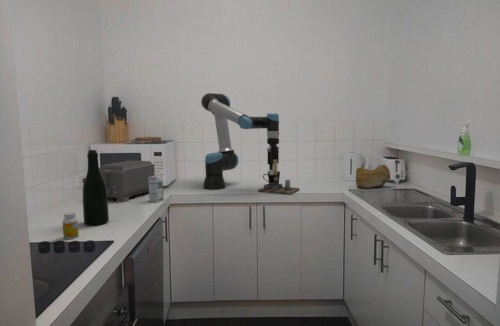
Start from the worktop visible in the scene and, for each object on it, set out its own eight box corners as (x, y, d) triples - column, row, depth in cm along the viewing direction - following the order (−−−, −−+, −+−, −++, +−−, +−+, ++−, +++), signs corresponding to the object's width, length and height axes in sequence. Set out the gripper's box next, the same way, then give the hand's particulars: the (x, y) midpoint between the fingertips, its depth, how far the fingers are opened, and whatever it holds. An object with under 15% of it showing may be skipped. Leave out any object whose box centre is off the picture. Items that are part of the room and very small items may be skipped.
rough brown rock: (381, 185, 259) (380, 164, 258) (393, 187, 242) (392, 164, 242) (349, 187, 256) (348, 165, 256) (359, 189, 240) (358, 166, 239)
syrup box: (157, 202, 206) (157, 176, 204) (149, 201, 208) (148, 176, 206) (163, 200, 211) (162, 175, 210) (155, 199, 213) (154, 175, 212)
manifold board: (258, 192, 234) (257, 180, 233) (268, 187, 248) (268, 176, 247) (290, 194, 224) (290, 182, 223) (299, 190, 238) (299, 178, 237)
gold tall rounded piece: (267, 175, 235) (267, 159, 234) (271, 174, 240) (271, 159, 239) (275, 175, 233) (275, 160, 232) (278, 174, 238) (278, 159, 237)
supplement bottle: (60, 238, 144) (58, 214, 143) (71, 234, 149) (70, 211, 148) (70, 240, 142) (69, 215, 141) (81, 236, 147) (80, 212, 146)
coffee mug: (280, 184, 259) (280, 170, 258) (280, 187, 251) (280, 172, 250) (263, 184, 260) (263, 170, 259) (263, 186, 252) (262, 172, 251)
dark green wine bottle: (96, 218, 172) (92, 148, 169) (114, 221, 168) (110, 149, 165) (78, 224, 163) (73, 150, 159) (96, 227, 159) (92, 151, 155)
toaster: (92, 201, 211) (90, 166, 208) (132, 190, 243) (130, 159, 241) (119, 204, 204) (118, 167, 202) (156, 192, 236) (155, 160, 234)
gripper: (272, 138, 224) (273, 176, 227) (283, 137, 240) (283, 172, 243) (261, 138, 228) (262, 175, 230) (273, 137, 244) (273, 171, 246)
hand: (273, 173), depth 236 cm, fingers closed on gold tall rounded piece, 5 cm apart
